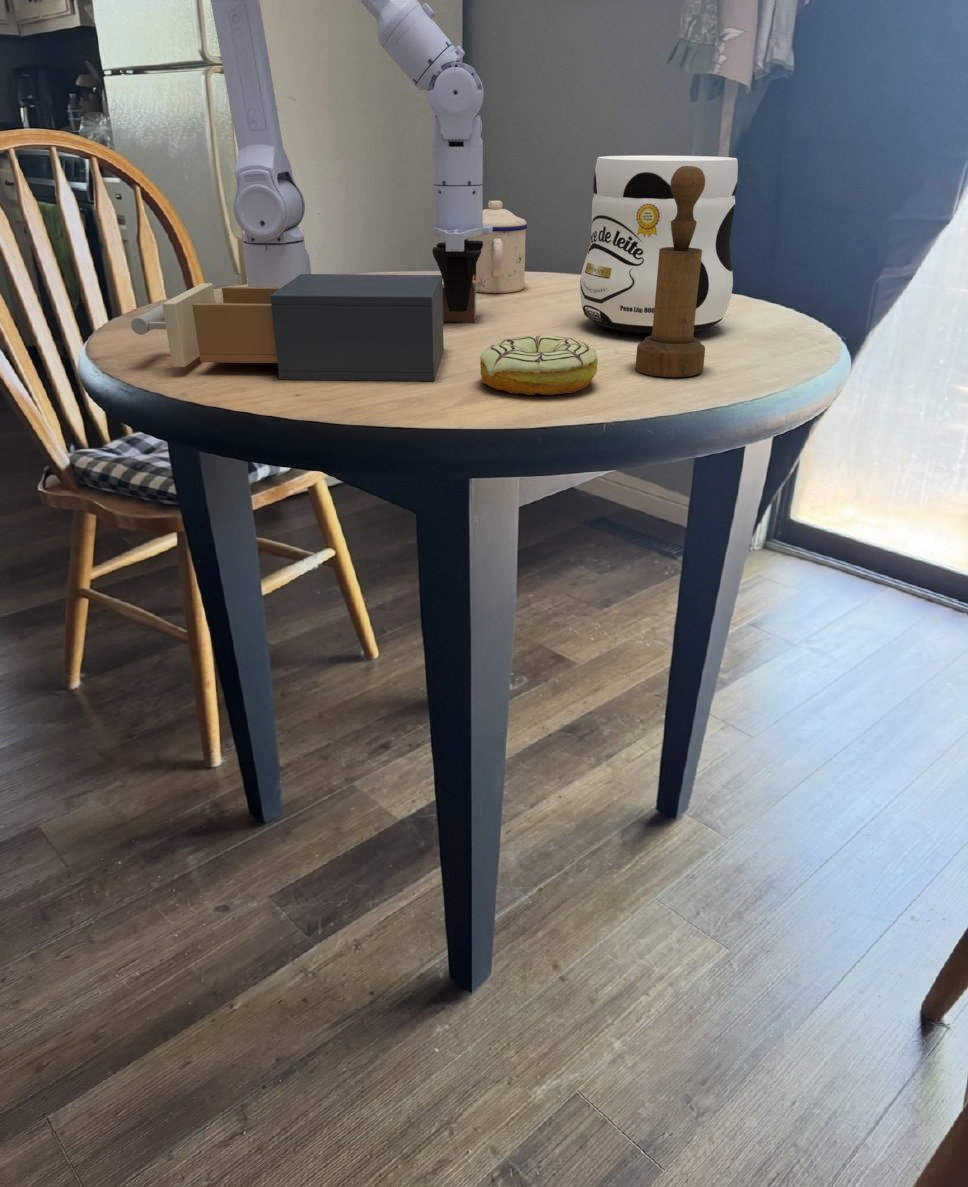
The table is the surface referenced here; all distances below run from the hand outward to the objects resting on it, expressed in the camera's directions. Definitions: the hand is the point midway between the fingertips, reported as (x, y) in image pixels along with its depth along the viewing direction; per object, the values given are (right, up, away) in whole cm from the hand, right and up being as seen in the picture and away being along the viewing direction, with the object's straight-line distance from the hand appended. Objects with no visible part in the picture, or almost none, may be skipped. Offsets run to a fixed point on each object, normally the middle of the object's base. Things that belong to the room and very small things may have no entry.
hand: (459, 307), depth 107 cm
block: (0, -1, +1) cm, 1 cm away
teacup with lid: (+5, +9, +19) cm, 21 cm away
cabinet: (-9, -12, -19) cm, 24 cm away
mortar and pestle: (+21, -13, -21) cm, 33 cm away
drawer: (-22, -11, -19) cm, 31 cm away
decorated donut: (+8, -16, -26) cm, 31 cm away
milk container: (+23, -4, -3) cm, 23 cm away
